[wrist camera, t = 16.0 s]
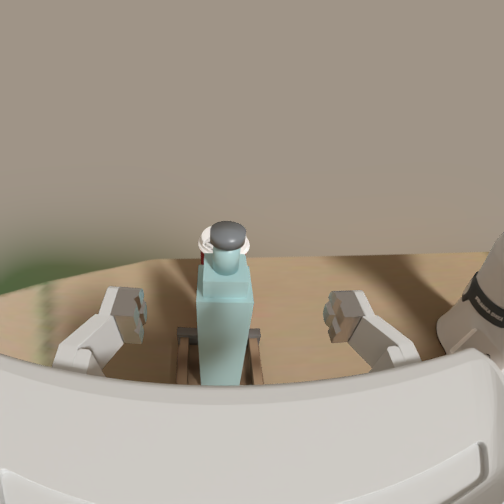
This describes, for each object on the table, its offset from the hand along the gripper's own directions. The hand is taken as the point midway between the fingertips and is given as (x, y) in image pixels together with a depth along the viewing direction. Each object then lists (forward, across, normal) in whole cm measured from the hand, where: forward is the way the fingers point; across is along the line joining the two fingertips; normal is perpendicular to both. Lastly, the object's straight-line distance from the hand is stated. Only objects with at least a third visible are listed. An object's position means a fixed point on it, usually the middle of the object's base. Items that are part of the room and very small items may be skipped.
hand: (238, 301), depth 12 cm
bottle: (+12, 0, -28) cm, 31 cm away
